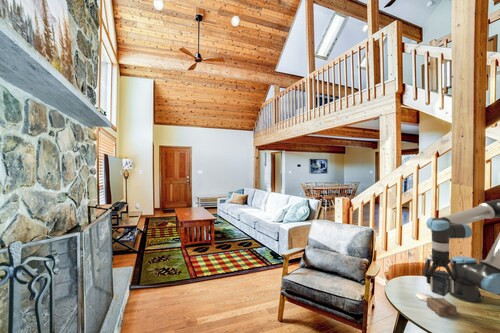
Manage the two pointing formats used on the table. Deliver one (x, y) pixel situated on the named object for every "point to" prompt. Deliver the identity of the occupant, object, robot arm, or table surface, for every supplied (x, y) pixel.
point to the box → (441, 283)
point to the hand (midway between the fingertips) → (440, 290)
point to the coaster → (423, 296)
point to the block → (441, 307)
